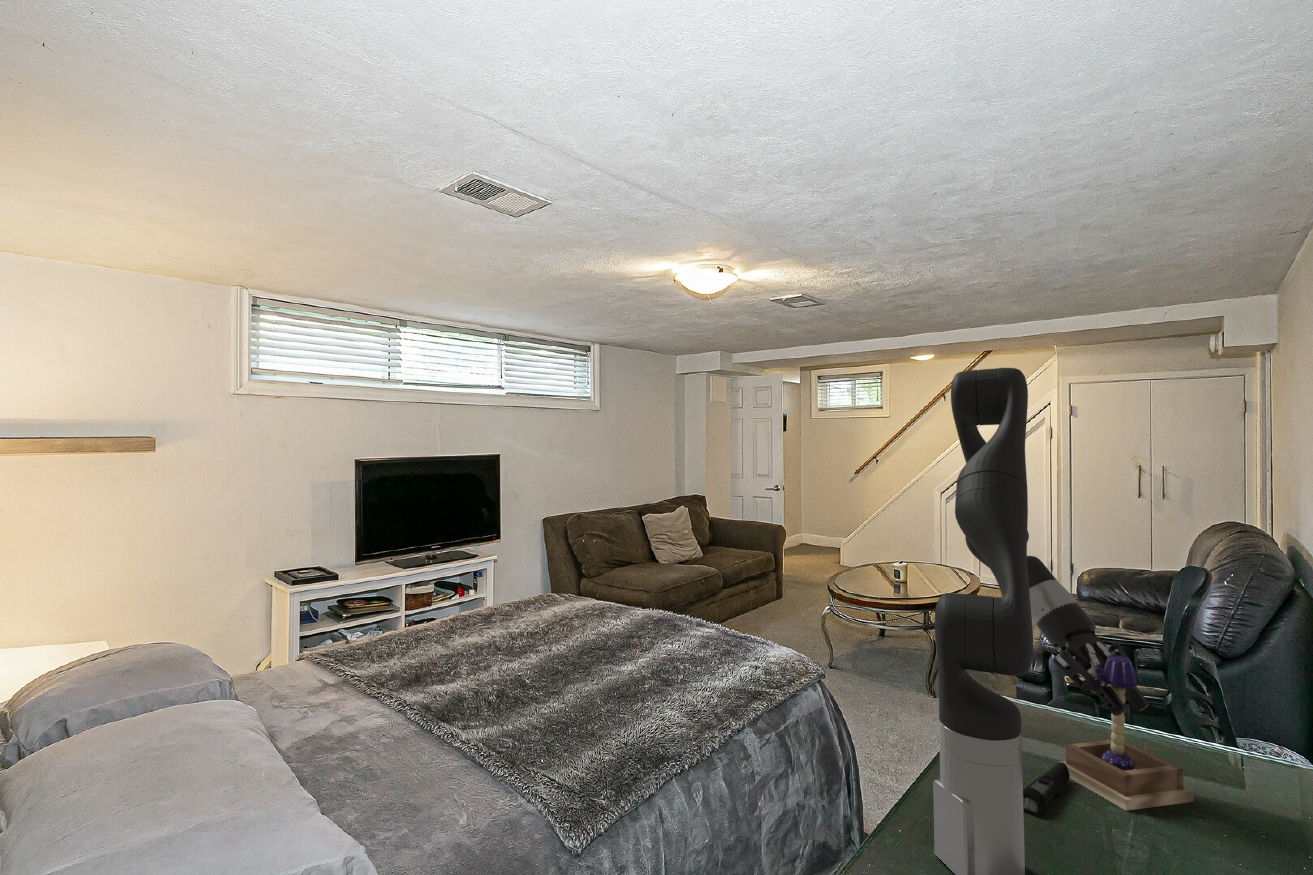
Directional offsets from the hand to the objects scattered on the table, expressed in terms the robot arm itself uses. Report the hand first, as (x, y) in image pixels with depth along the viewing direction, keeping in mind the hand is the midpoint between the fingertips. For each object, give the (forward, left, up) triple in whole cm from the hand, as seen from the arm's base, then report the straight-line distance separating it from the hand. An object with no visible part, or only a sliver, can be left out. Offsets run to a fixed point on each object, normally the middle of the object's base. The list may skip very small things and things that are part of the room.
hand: (1132, 710), depth 98 cm
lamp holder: (0, +2, -12) cm, 12 cm away
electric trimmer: (-14, +2, -13) cm, 19 cm away
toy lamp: (0, +2, -9) cm, 9 cm away
